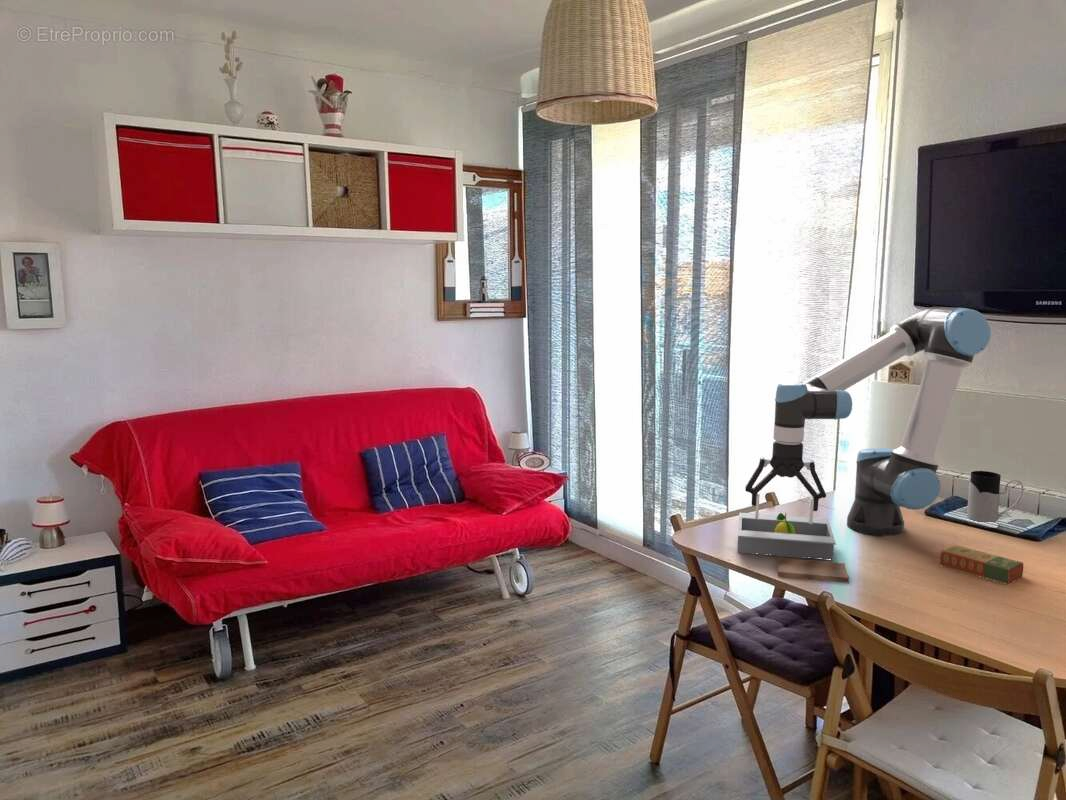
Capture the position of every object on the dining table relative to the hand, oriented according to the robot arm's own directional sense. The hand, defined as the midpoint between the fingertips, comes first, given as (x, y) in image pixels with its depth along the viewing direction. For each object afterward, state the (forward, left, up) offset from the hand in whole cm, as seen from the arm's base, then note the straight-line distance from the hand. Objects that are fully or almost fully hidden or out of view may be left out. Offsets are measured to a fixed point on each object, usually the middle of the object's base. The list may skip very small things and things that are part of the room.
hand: (783, 520), depth 211 cm
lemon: (0, 0, -8) cm, 8 cm away
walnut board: (-6, +16, -8) cm, 19 cm away
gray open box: (0, 0, -8) cm, 8 cm away
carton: (-46, +5, -8) cm, 47 cm away
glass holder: (-59, -36, -8) cm, 70 cm away
